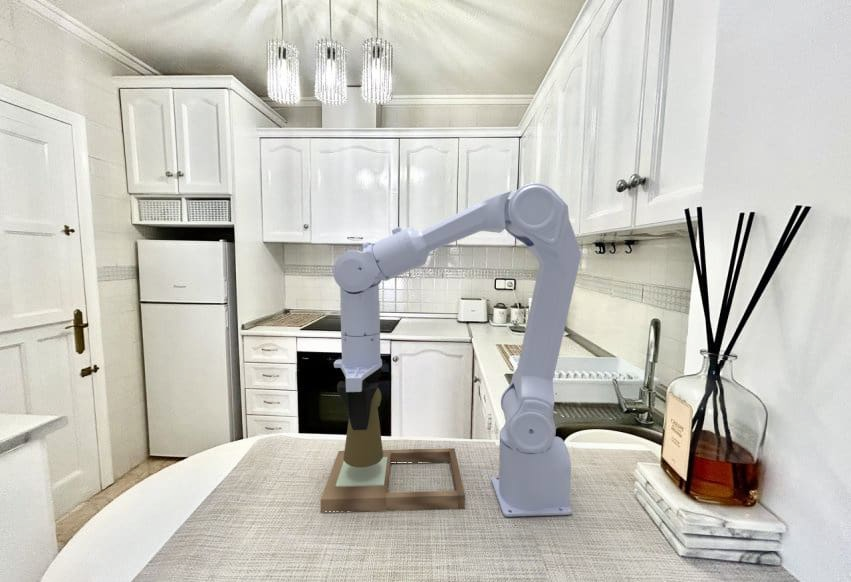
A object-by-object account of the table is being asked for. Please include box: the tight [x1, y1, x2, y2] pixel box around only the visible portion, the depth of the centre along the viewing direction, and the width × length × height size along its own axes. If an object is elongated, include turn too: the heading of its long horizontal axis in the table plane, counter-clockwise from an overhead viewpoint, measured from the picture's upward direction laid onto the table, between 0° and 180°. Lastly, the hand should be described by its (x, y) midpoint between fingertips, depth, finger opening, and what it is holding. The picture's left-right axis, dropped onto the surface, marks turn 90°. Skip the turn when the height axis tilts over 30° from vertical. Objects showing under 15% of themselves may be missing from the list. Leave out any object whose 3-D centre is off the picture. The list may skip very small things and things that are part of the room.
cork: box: [343, 386, 384, 467], centre depth 53 cm, size 6×6×11 cm
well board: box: [319, 447, 466, 513], centre depth 54 cm, size 20×12×2 cm, turn 92°
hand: (362, 419), depth 53 cm, fingers closed on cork, 5 cm apart
